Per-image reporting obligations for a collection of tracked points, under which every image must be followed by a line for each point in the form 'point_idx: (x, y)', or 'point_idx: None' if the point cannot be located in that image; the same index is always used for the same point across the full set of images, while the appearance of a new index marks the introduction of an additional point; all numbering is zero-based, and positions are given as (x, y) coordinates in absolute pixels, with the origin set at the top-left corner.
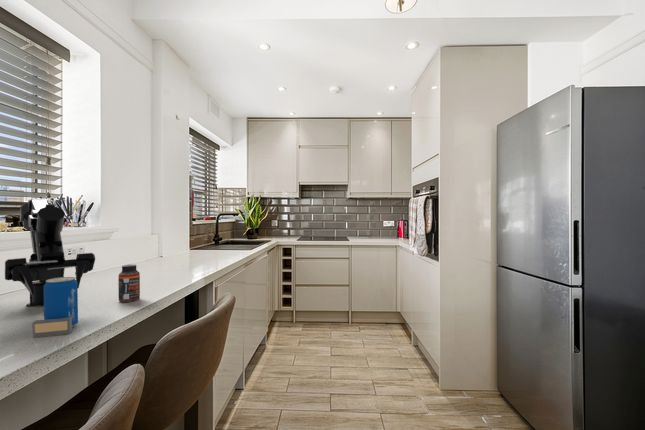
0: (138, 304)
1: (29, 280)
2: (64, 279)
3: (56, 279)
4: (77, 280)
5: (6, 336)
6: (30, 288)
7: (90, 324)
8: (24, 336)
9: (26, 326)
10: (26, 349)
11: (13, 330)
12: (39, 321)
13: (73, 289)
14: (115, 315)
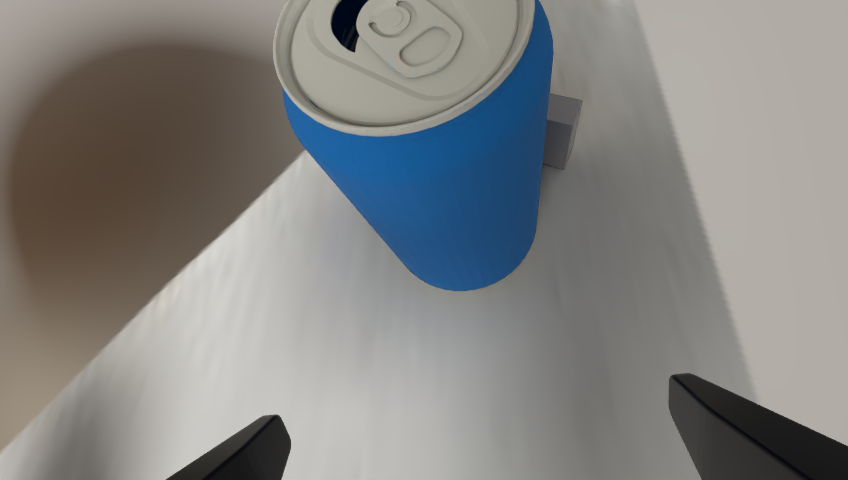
0: (65, 466)
1: (827, 462)
2: (366, 30)
3: (435, 97)
4: (231, 454)
5: (706, 247)
6: (731, 395)
7: (351, 204)
8: (613, 191)
9: (645, 402)
10: (573, 19)
11: (702, 355)
12: (551, 95)
13: (344, 40)
14: (231, 292)
